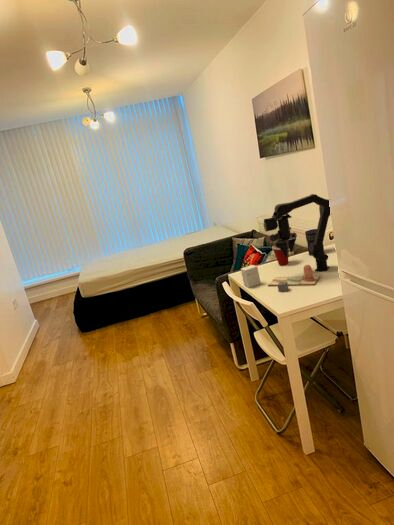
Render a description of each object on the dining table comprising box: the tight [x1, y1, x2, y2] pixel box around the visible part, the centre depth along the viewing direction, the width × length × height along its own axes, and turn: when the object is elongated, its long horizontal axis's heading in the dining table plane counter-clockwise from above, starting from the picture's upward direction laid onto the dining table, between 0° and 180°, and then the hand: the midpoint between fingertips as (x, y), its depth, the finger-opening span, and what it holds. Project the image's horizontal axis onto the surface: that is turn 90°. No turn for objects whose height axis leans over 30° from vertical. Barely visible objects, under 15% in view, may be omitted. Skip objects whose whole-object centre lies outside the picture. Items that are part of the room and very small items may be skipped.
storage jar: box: [304, 228, 317, 257], centre depth 246 cm, size 10×10×15 cm
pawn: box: [303, 264, 314, 281], centre depth 202 cm, size 5×5×8 cm
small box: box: [240, 264, 262, 289], centre depth 217 cm, size 8×6×10 cm
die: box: [277, 282, 290, 293], centre depth 199 cm, size 4×4×4 cm
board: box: [267, 275, 321, 287], centre depth 208 cm, size 12×26×1 cm, turn 58°
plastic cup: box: [271, 245, 290, 266], centre depth 240 cm, size 11×11×12 cm
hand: (288, 254), depth 213 cm, fingers open, 9 cm apart
